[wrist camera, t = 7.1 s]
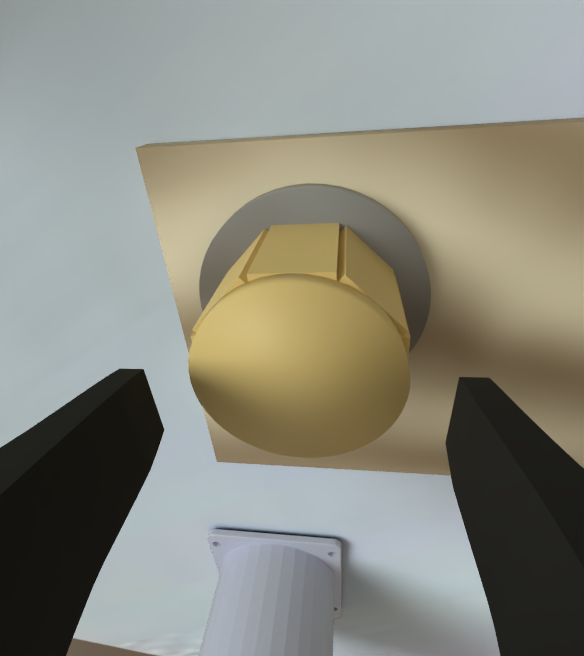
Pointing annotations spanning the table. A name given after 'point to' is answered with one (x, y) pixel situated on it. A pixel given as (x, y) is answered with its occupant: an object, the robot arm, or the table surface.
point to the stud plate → (408, 258)
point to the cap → (304, 344)
